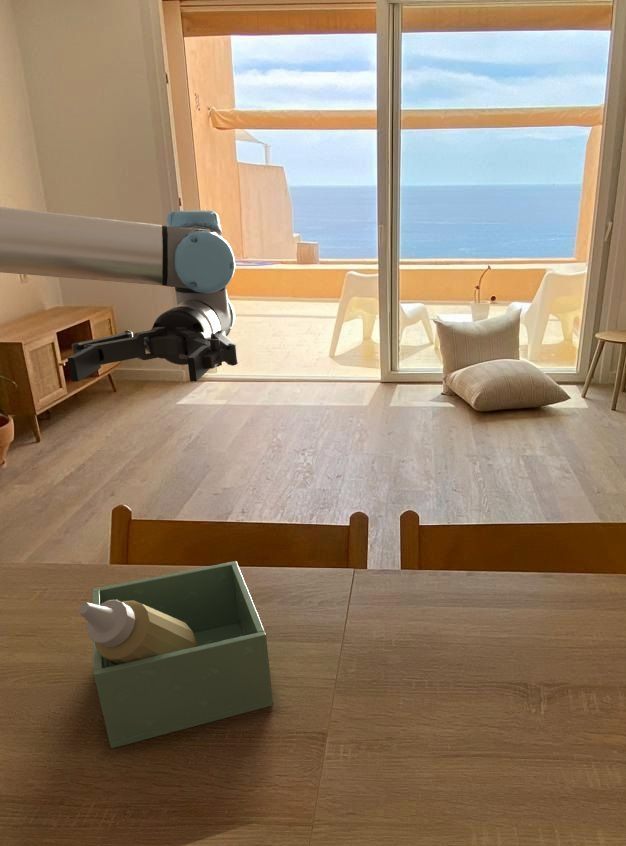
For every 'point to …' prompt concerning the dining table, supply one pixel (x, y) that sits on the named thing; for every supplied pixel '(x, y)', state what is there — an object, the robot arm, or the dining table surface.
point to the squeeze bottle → (134, 631)
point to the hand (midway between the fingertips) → (132, 369)
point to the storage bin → (187, 657)
